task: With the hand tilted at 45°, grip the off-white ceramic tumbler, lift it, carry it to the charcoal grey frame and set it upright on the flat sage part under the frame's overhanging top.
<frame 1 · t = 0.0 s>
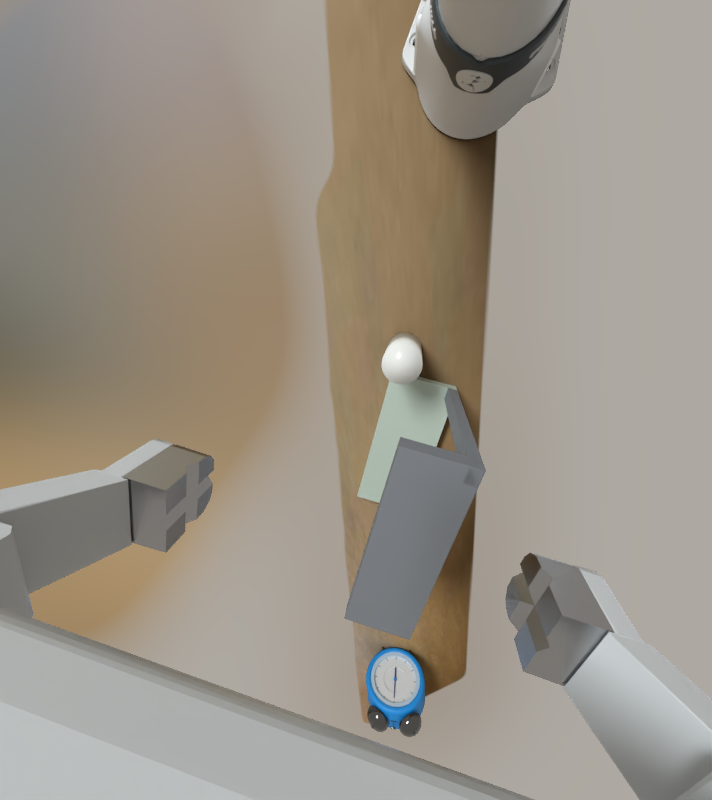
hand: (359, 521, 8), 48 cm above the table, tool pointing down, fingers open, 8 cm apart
alarm clock: (397, 653, 81), on the table
tumbler: (404, 348, 55), on the table
grey frame: (403, 442, 61), on the table
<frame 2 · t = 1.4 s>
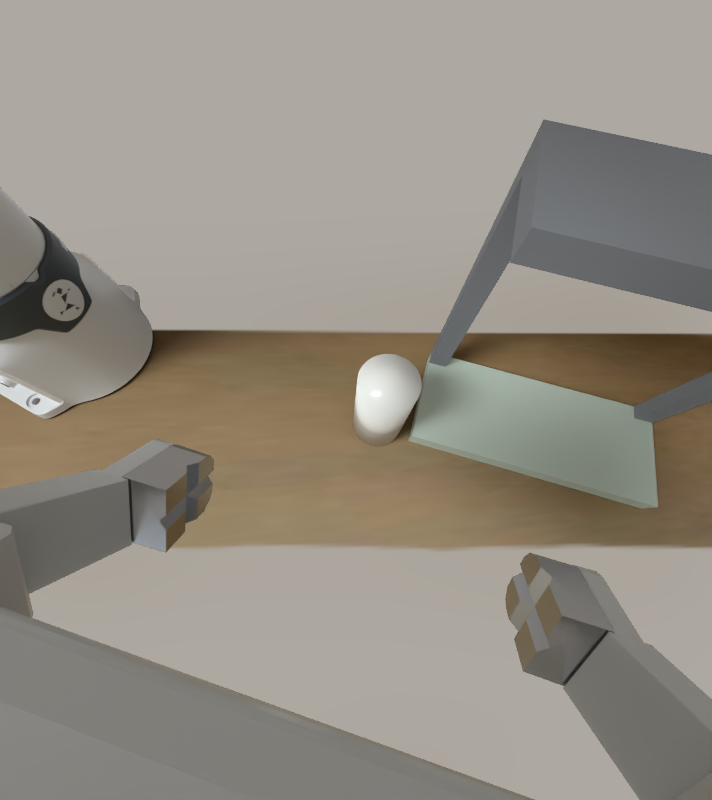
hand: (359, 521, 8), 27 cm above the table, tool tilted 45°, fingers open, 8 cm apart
tumbler: (376, 423, 38), on the table
grey frame: (526, 428, 38), on the table
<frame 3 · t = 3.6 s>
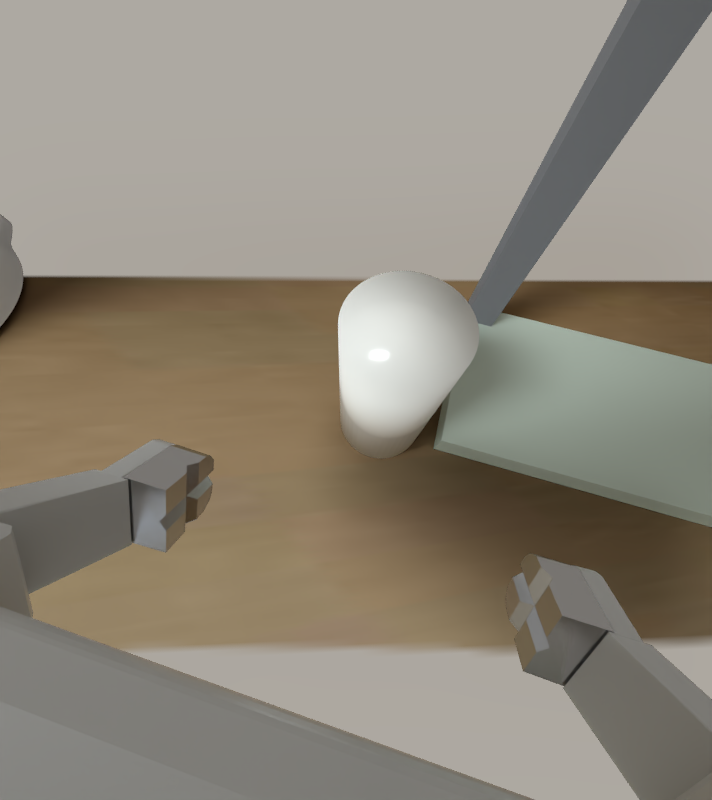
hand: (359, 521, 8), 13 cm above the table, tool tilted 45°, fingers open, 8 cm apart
tumbler: (379, 419, 23), on the table
grey frame: (626, 426, 23), on the table
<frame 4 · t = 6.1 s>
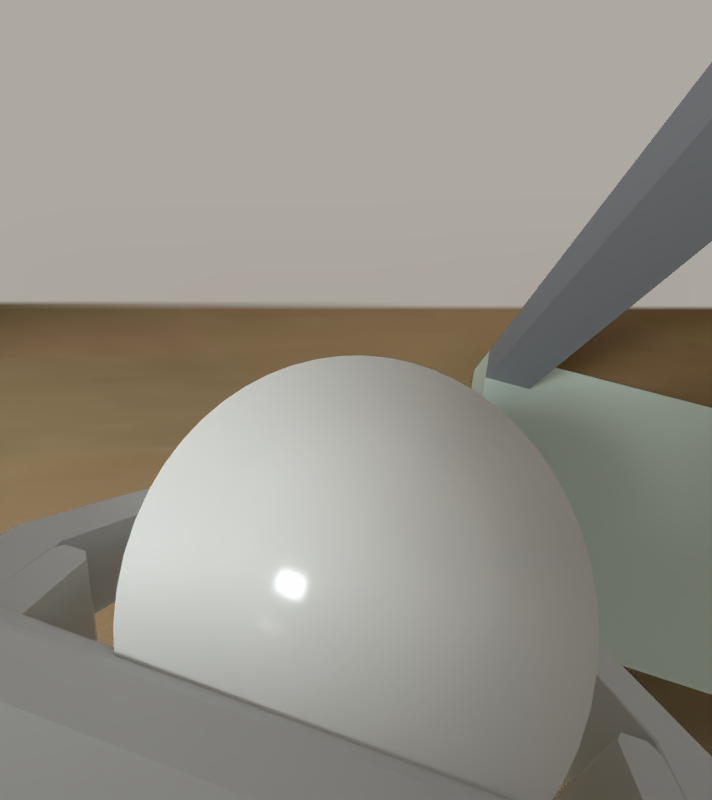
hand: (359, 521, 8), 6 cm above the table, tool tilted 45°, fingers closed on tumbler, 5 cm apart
tumbler: (348, 544, 14), on the table, touching gripper
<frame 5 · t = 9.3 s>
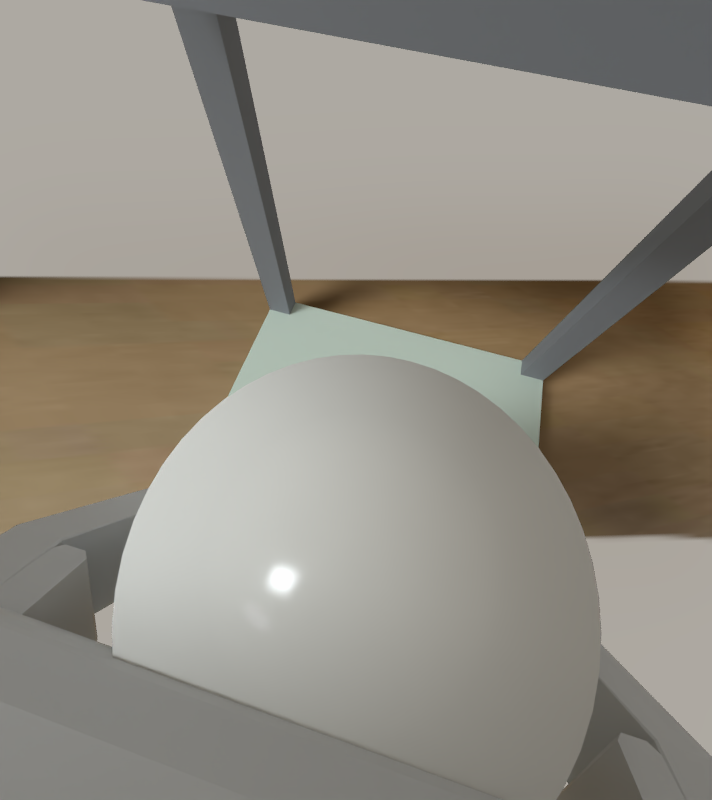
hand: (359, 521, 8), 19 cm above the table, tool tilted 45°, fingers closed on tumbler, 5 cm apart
tumbler: (348, 544, 14), point 13 cm above the table, touching gripper
grey frame: (388, 390, 31), on the table
when the fingers open (9 cm above the table, at t = 12.5 s): tumbler stays where it is, resting on grey frame.
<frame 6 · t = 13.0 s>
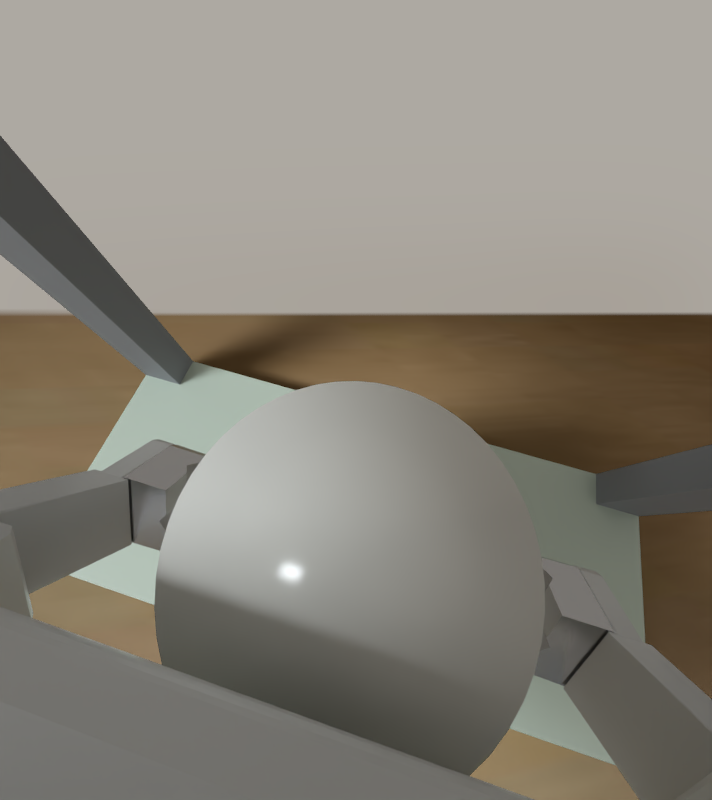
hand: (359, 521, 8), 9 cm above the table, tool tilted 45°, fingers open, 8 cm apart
tumbler: (346, 543, 15), point 2 cm above the table, touching grey frame
grey frame: (354, 523, 17), on the table
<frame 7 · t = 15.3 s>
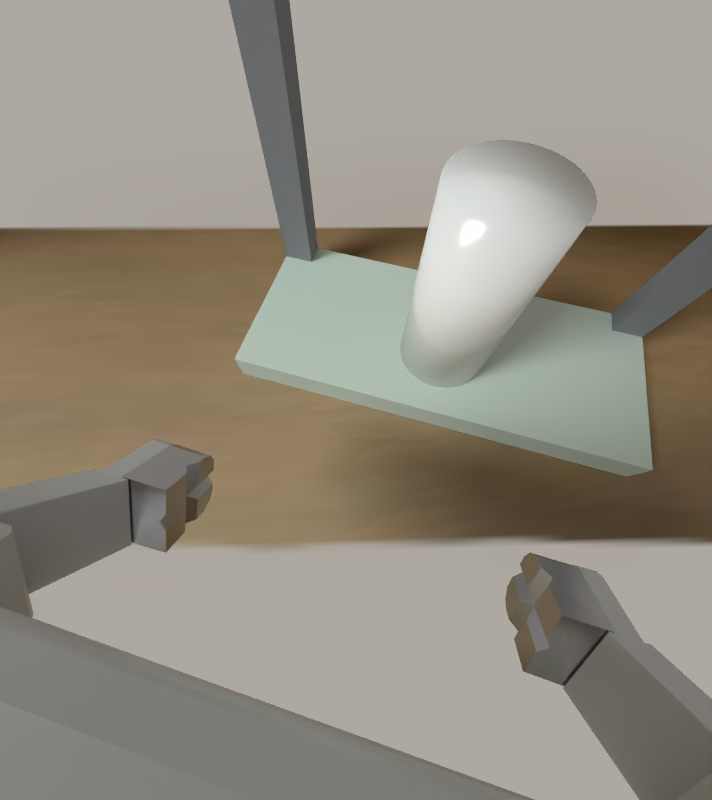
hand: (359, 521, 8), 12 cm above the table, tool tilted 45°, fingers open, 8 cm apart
tumbler: (441, 350, 22), point 2 cm above the table, touching grey frame
grey frame: (438, 354, 24), on the table
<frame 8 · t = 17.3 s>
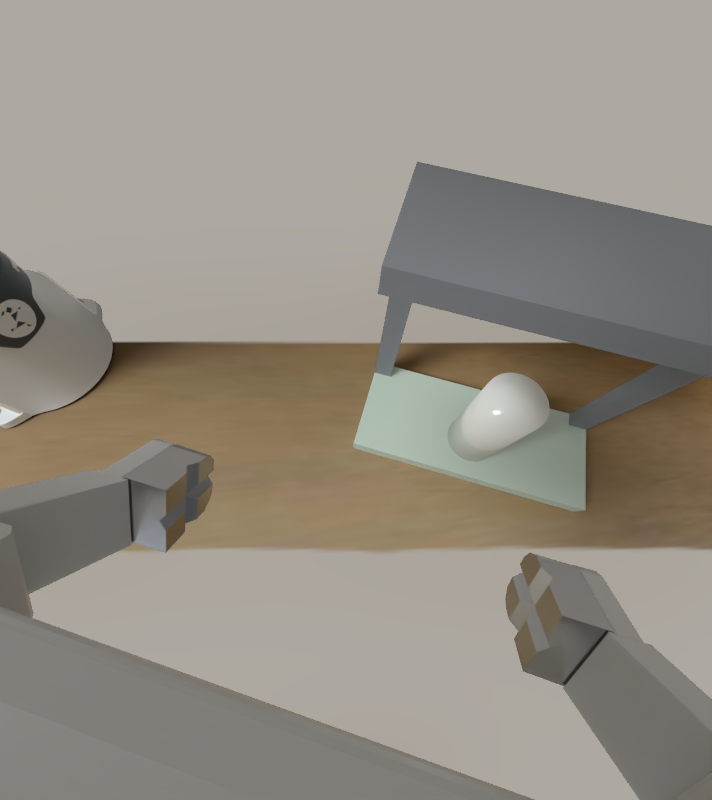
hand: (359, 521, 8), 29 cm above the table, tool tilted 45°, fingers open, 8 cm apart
tumbler: (471, 438, 38), point 2 cm above the table, touching grey frame
grey frame: (467, 435, 40), on the table
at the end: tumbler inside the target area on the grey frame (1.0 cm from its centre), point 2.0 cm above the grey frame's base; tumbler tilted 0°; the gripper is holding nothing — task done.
